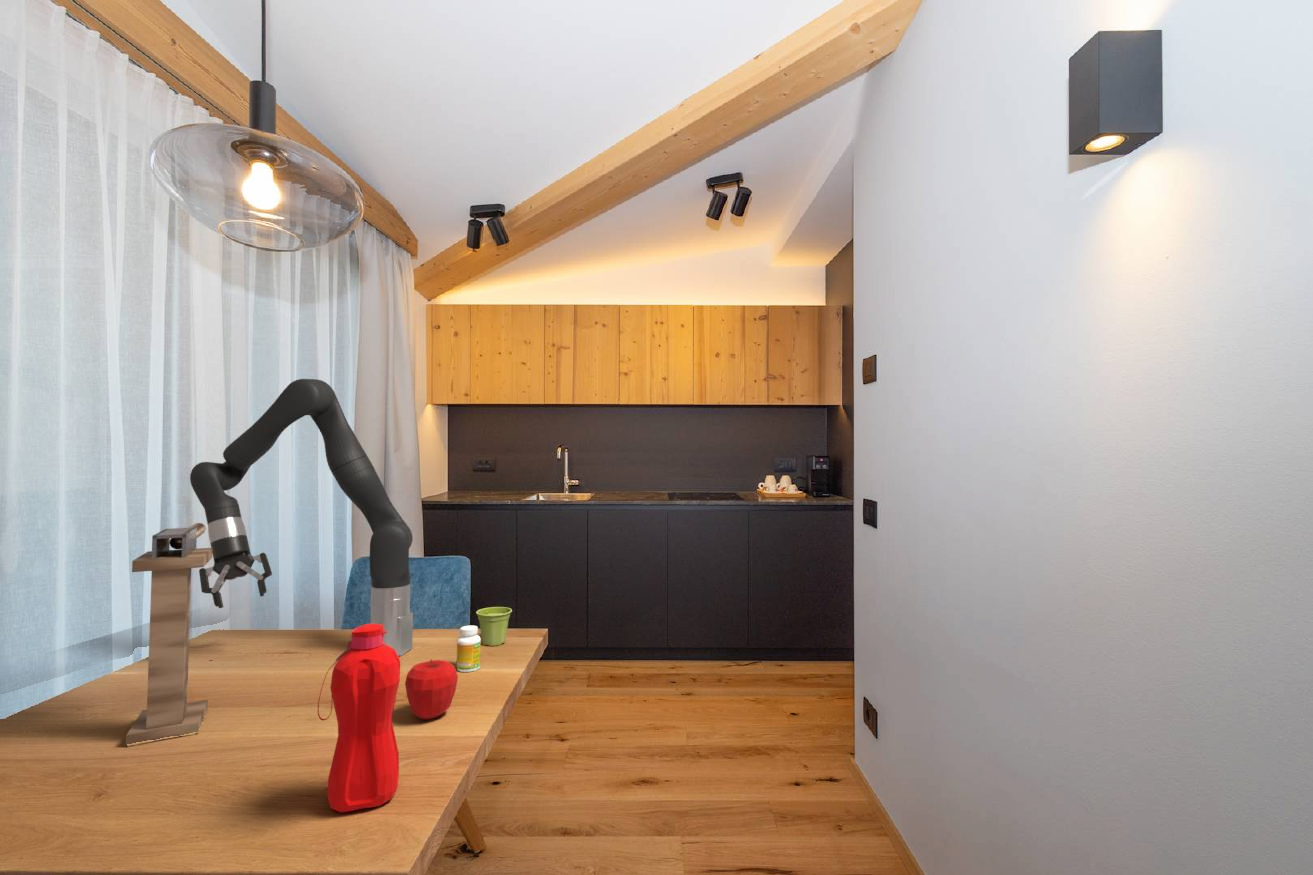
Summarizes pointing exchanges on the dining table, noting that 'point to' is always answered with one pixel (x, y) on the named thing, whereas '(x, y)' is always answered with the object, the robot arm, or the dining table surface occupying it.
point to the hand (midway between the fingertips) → (242, 601)
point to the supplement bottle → (468, 649)
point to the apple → (431, 688)
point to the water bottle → (364, 722)
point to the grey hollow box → (163, 538)
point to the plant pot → (493, 624)
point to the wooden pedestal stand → (169, 647)
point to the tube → (177, 542)
